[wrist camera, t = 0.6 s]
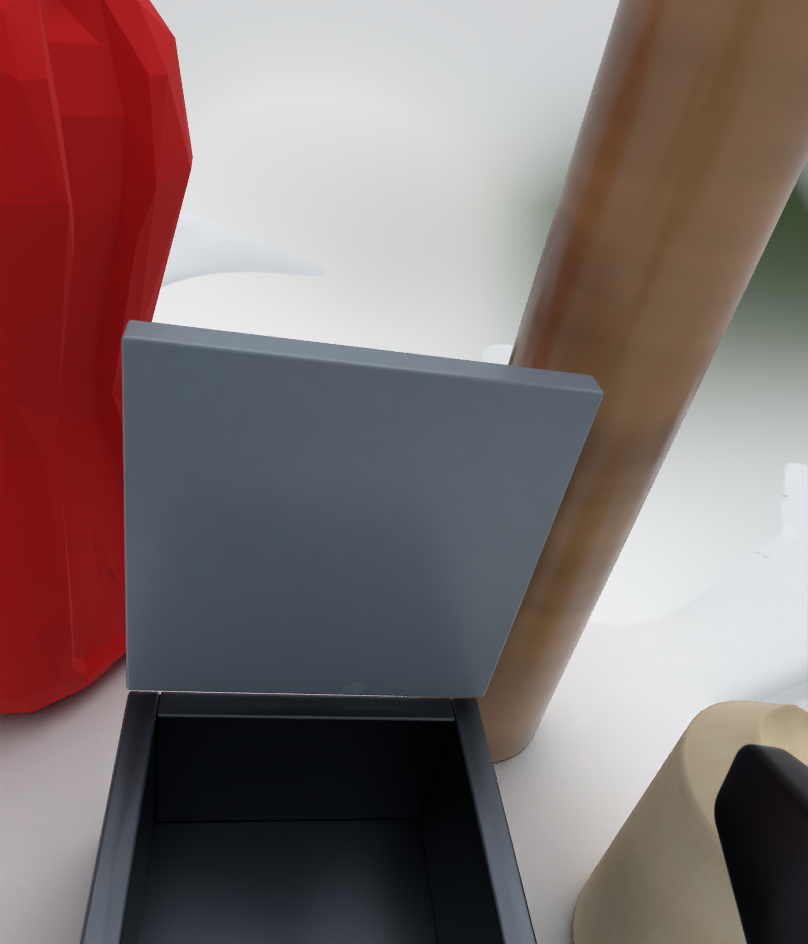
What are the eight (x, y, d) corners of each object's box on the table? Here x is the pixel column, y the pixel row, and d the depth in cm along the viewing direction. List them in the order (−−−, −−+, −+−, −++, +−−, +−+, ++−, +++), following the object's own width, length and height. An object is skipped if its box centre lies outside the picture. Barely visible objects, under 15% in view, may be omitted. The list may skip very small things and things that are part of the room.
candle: (789, 1005, 23) (1006, 819, 17) (662, 1113, 20) (871, 933, 14) (657, 839, 26) (799, 639, 20) (533, 910, 23) (659, 702, 18)
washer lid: (606, 392, 16) (593, 374, 17) (120, 336, 14) (127, 317, 15) (484, 698, 22) (478, 675, 22) (126, 691, 20) (131, 666, 20)
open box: (499, 1198, 18) (580, 1115, 15) (55, 1254, 16) (33, 1173, 12) (434, 808, 25) (477, 697, 22) (130, 812, 23) (128, 689, 20)
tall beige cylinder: (568, 775, 28) (1251, -482, 11) (406, 776, 26) (889, -656, 9) (526, 646, 32) (950, -362, 15) (386, 641, 31) (683, -467, 14)
